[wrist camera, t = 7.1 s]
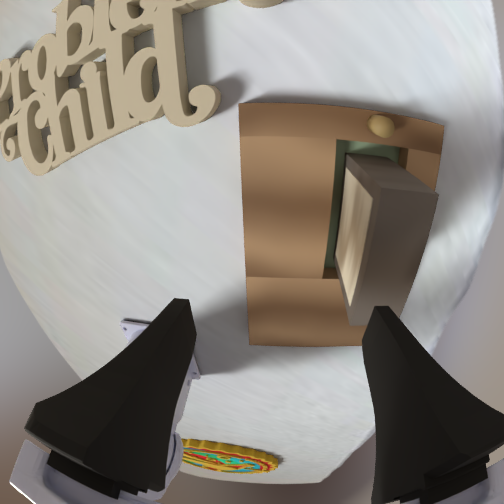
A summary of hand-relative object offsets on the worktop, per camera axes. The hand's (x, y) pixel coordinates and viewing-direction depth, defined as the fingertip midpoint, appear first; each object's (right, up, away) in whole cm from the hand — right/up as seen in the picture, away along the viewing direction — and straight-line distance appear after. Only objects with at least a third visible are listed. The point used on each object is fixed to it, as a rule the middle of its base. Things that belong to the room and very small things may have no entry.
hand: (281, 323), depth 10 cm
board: (+5, +3, +10) cm, 11 cm away
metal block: (+6, +6, +8) cm, 11 cm away
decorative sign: (-14, +16, +4) cm, 22 cm away
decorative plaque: (-9, -50, +46) cm, 68 cm away
